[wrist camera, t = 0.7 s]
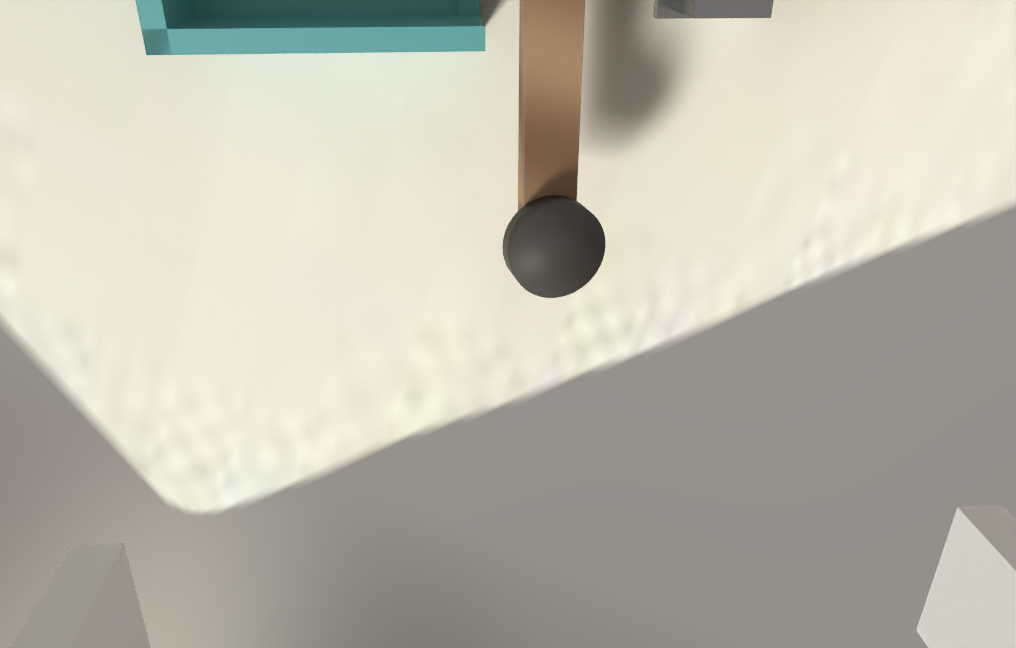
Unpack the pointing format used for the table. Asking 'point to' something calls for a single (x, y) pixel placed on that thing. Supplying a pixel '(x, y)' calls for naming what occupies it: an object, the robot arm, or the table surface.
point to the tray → (309, 26)
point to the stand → (713, 8)
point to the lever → (551, 156)
